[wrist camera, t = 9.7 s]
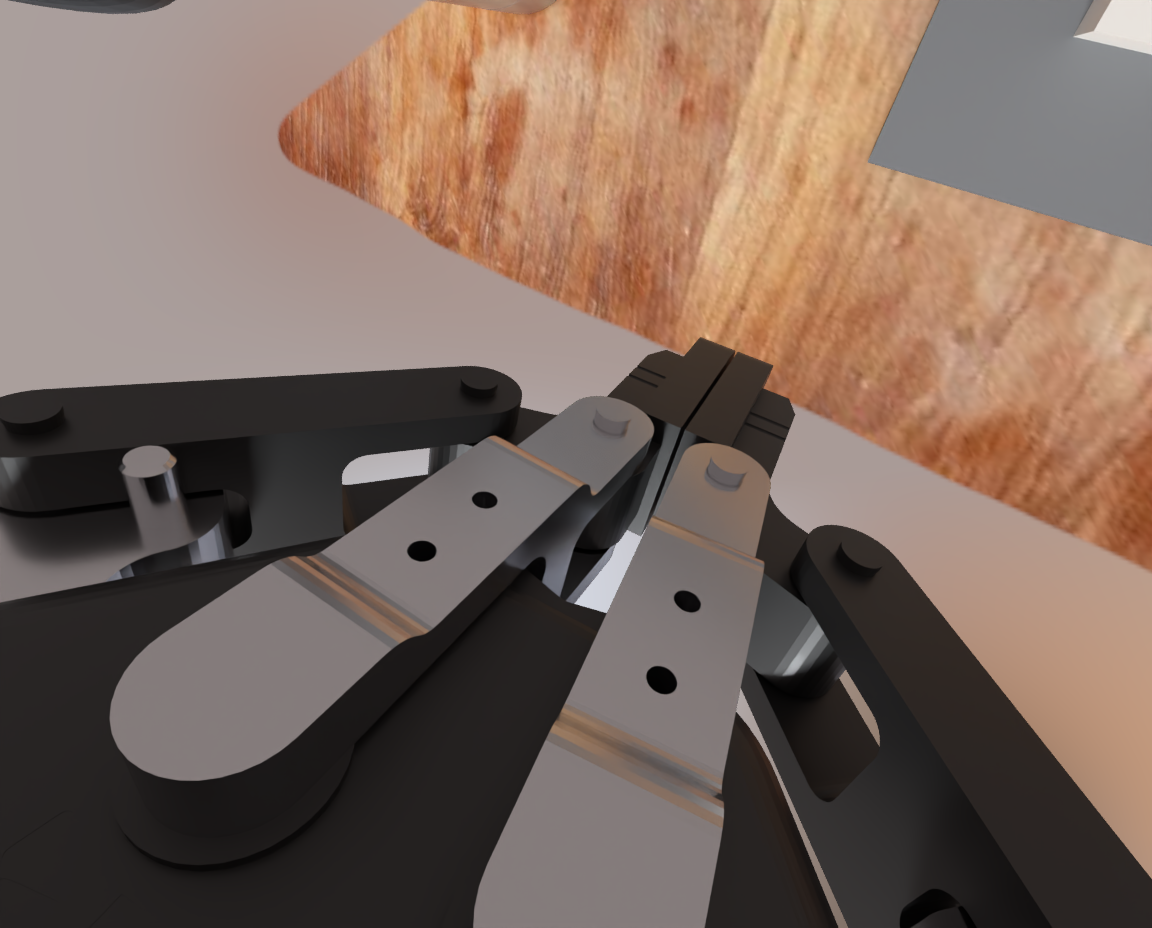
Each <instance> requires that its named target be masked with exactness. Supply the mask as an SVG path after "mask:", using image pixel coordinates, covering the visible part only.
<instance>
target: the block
mask: <svg viewBox="0 0 1152 928" xmlns="http://www.w3.org/2000/svg"><path fill="white" fill-rule="evenodd" d="M1073 37H1077V38H1081V39H1085V40H1090V41H1094V42H1099V43H1103V44H1107V45H1112V46H1116V47H1121V48H1125V49H1129V50H1134V51H1138V52H1143V53H1147V54H1151V55H1152V0H1093V2H1092V4H1091V6H1090V8H1089V9H1088V11H1087V13H1086V15H1085V16H1084V18H1083V20H1082V22H1081V23H1080V25H1079V27H1078V29H1077V30H1076V32H1075V34H1074V36H1073Z"/></svg>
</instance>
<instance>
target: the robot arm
mask: <svg viewBox="0 0 1152 928" xmlns="http://www.w3.org/2000/svg"><path fill="white" fill-rule="evenodd" d="M10 1H16V2H21V3H27V4H32V5H38V6H45V7H52V8H59V9H66V10H74V11H83V12H95V13H107V14H120V13H121V14H124V13H125V14H128V13H140V12H147V11H152V10H157V9H159V8H162V7H164V6H167V5H169V4H170V3H172V2H173V1H175V0H10ZM429 1H436V2H442V3H449V4H455V5H462V6H468V7H475V8H481V9H486V10H493V11H499V12H506V13H513V14H531V13H534V12H538V11H541V10H543V9H545V8H546V7H548V6H549V5H551V4H552V3H554V2H555V1H556V0H429ZM734 355H735V350H732V349H730V348H727V347H724V346H722V345H719V344H717V343H714V342H712V341H709V340H706V339H704V338H699V339H698V341H697V342H696V343H695V344H694V345H693V346H692V348H691V349H690V350H689V351H688V352H687V353H686V355H685V356H684V357H683V356H680V355H678V354H675V353H673V352H670V351H668V350H664V351H661V352H657V353H654V354H650V355H648V356H647V357H646V358H645V359H644V360H643V361H642V362H641V363H640V364H639V365H638V367H637V368H635V369H634V370H633V371H632V372H631V373H630V374H629V376H627V377H626V378H625V379H624V380H623V381H622V382H621V383H620V384H619V385H618V386H617V387H616V388H615V389H614V390H613V391H612V392H611V393H610V394H609V395H608V396H607V397H604V396H593V397H586V398H582V399H580V400H578V401H576V402H575V403H573V404H572V405H571V406H569V407H568V408H567V409H565V410H564V411H563V412H561V413H560V414H559V415H553V414H548V413H543V412H538V411H534V410H530V409H526V408H521V407H520V405H521V399H522V391H521V389H520V387H519V385H518V384H517V383H516V382H515V381H514V380H513V379H511V378H510V377H508V376H507V375H505V374H503V373H501V372H498V371H495V370H492V369H488V368H484V367H477V366H462V367H461V366H459V367H442V368H424V369H405V370H389V371H388V370H387V371H368V372H350V373H332V374H316V375H315V374H314V375H296V376H278V377H261V378H260V377H259V378H242V379H223V380H205V381H187V382H169V383H151V384H132V385H114V386H96V387H78V388H61V389H43V390H31V391H25V392H19V393H14V394H10V395H6V396H3V397H0V928H838V925H837V923H836V921H835V918H834V916H833V913H832V911H831V908H830V906H829V903H828V901H827V899H826V896H825V894H824V891H823V889H822V886H821V884H820V881H819V879H818V877H817V874H816V872H815V870H814V867H813V865H812V862H811V860H810V857H809V855H808V852H807V850H806V847H805V845H804V842H803V840H802V837H801V835H800V833H799V830H798V828H797V825H796V823H795V820H794V818H793V815H792V813H791V811H790V808H789V806H788V803H787V801H786V799H785V796H784V793H783V791H782V789H781V786H780V784H779V781H778V779H777V776H776V774H775V772H774V770H773V767H772V765H771V763H770V761H769V759H768V757H767V756H766V754H765V752H764V751H763V748H762V747H761V745H760V743H759V742H758V740H757V739H756V737H755V736H754V734H753V733H752V731H751V730H750V728H749V727H748V726H747V724H746V723H745V722H744V721H743V719H742V718H741V717H740V716H739V715H738V713H737V712H736V708H737V703H738V698H739V693H740V688H741V689H742V691H743V693H744V696H745V698H746V700H747V703H748V705H749V707H750V709H751V711H752V713H753V716H754V718H755V720H756V723H757V725H758V727H759V729H760V732H761V734H762V736H763V738H764V740H765V743H766V745H767V747H768V749H769V752H770V754H771V756H772V758H773V761H774V763H775V765H776V767H777V769H778V772H779V774H780V776H781V778H782V781H783V783H784V785H785V787H786V790H787V792H788V794H789V796H790V798H791V801H792V803H793V805H794V807H795V810H796V812H797V814H798V816H799V819H800V821H801V823H802V825H803V828H804V830H805V832H806V834H807V836H808V839H809V841H810V843H811V845H812V848H813V850H814V852H815V854H816V856H817V859H818V861H819V863H820V865H821V868H822V870H823V872H824V874H825V877H826V879H827V881H828V883H829V885H830V887H831V890H832V892H833V894H834V897H835V899H836V901H837V903H838V906H839V908H840V910H841V912H842V914H843V917H844V919H845V921H846V923H847V926H848V928H1152V879H1151V878H1150V876H1149V875H1148V874H1147V873H1146V871H1145V870H1144V869H1143V868H1142V866H1141V865H1140V864H1139V863H1138V861H1137V860H1136V859H1135V858H1134V856H1133V855H1132V854H1131V853H1130V851H1129V850H1128V849H1127V847H1126V846H1125V845H1124V844H1123V842H1122V841H1121V840H1120V839H1119V837H1118V836H1117V835H1116V834H1115V832H1114V831H1113V830H1112V829H1111V827H1110V826H1109V825H1108V824H1107V823H1106V821H1105V820H1104V819H1103V817H1102V816H1101V815H1100V813H1099V812H1098V811H1097V810H1096V808H1095V807H1094V806H1093V805H1092V803H1091V802H1090V801H1089V800H1088V798H1087V797H1086V796H1085V795H1084V793H1083V792H1082V791H1081V790H1080V788H1079V787H1078V786H1077V784H1076V783H1075V782H1074V781H1073V780H1072V778H1071V777H1070V776H1069V774H1068V773H1067V772H1066V771H1065V769H1064V768H1063V767H1062V766H1061V764H1060V763H1059V762H1058V761H1057V759H1056V758H1055V757H1054V756H1053V754H1052V753H1051V752H1050V751H1049V749H1048V748H1047V747H1046V746H1045V744H1044V743H1043V742H1042V741H1041V739H1040V738H1039V737H1038V735H1037V734H1036V733H1035V732H1034V730H1033V729H1032V728H1031V727H1030V725H1029V724H1028V723H1027V722H1026V720H1025V719H1024V718H1023V717H1022V715H1021V714H1020V713H1019V712H1018V710H1017V709H1016V708H1015V707H1014V705H1013V704H1012V703H1011V701H1010V700H1009V699H1008V698H1007V697H1006V695H1005V694H1004V693H1003V691H1002V690H1001V689H1000V688H999V686H998V685H997V684H996V683H995V681H994V680H993V679H992V677H991V676H990V675H989V674H988V672H987V671H986V670H985V669H984V668H983V666H982V665H981V664H980V662H979V661H978V660H977V659H976V657H975V656H974V655H973V654H972V652H971V651H970V650H969V648H968V647H967V646H966V645H965V644H964V642H963V641H962V640H961V639H960V637H959V636H958V635H957V634H956V632H955V631H954V630H953V628H952V627H951V626H950V625H949V623H948V622H947V621H946V620H945V618H944V617H943V616H942V614H941V613H940V612H939V611H938V609H937V608H936V607H935V606H934V605H933V603H932V602H931V601H930V599H929V598H928V597H927V596H926V594H925V593H924V592H923V591H922V589H921V588H920V587H919V586H918V584H917V583H916V582H915V581H914V579H913V578H912V577H911V575H910V574H909V573H908V572H907V570H906V569H905V568H904V567H903V565H902V564H901V563H900V562H899V560H898V559H897V558H896V557H895V556H894V555H893V554H892V553H891V552H890V551H889V550H888V549H887V548H886V547H884V546H883V545H882V544H880V543H879V542H878V541H876V540H874V539H873V538H871V537H869V536H868V535H866V534H864V533H862V532H859V531H857V530H854V529H851V528H848V527H843V526H837V525H824V526H820V527H817V528H815V529H813V530H812V531H811V532H810V533H809V534H808V533H806V532H805V531H804V530H802V529H801V528H799V527H798V526H796V525H795V524H794V523H792V522H791V521H790V520H789V519H787V518H786V517H785V516H784V515H783V514H782V513H781V512H780V510H779V509H778V508H777V507H776V505H775V504H774V502H773V500H772V498H771V497H770V494H769V493H770V488H771V482H770V479H771V476H772V474H773V471H774V468H775V466H776V463H777V461H778V458H779V455H780V453H781V450H782V448H783V445H784V442H785V440H786V437H787V435H788V432H789V429H790V427H791V424H792V421H793V419H794V416H795V413H794V411H793V408H792V405H791V403H790V400H789V399H788V398H786V397H783V396H781V395H778V394H776V393H773V392H771V391H768V390H766V389H763V388H764V386H765V384H766V382H767V379H768V377H769V375H770V373H771V370H772V368H773V365H771V364H768V363H766V362H763V361H761V360H758V359H756V358H753V357H750V356H748V355H745V354H743V353H740V352H737V354H736V355H735V357H734ZM424 448H430V455H429V468H428V475H421V476H413V477H405V478H398V479H390V480H383V481H375V482H368V483H361V484H353V485H342V473H343V470H344V469H345V467H346V466H347V465H348V464H349V463H350V462H351V461H353V460H354V459H356V458H358V457H361V456H365V455H371V454H380V453H389V452H398V451H406V450H416V449H424ZM647 525H648V526H647ZM646 527H647V528H646ZM645 529H646V530H645ZM626 530H629V531H631V532H633V533H635V534H637V535H639V536H641V535H642V534H643V532H644V530H645V533H644V535H643V537H642V539H641V541H640V543H639V545H638V547H637V550H636V552H635V554H634V556H633V558H632V560H631V563H630V565H629V567H628V569H627V571H626V573H625V575H624V578H623V580H622V582H621V584H620V586H619V588H618V590H617V593H616V595H615V597H614V599H613V601H612V604H611V606H610V608H609V610H608V612H607V613H604V612H600V611H597V610H594V609H590V608H587V607H583V606H580V605H576V604H574V603H575V602H576V601H577V599H578V598H579V597H580V596H581V595H582V593H583V592H584V591H585V590H586V588H587V587H588V586H589V585H590V583H591V582H592V581H593V580H594V579H595V577H596V576H597V575H598V574H599V572H600V571H601V570H602V569H603V567H604V566H605V565H606V564H607V562H608V561H609V560H610V558H611V556H612V554H613V551H614V548H615V545H616V543H618V542H619V541H620V539H621V538H622V536H623V535H624V533H625V532H626ZM845 670H847V672H848V674H849V675H850V677H851V679H852V680H853V682H854V684H855V685H856V687H857V688H858V690H859V692H860V693H861V695H862V697H863V698H864V700H865V702H866V703H867V705H868V707H869V708H870V710H871V712H872V714H873V716H874V717H875V720H876V722H877V725H878V729H879V734H880V747H879V745H878V744H877V742H876V740H875V739H874V737H873V735H872V734H871V732H870V730H869V728H868V727H867V725H866V724H865V722H864V720H863V718H862V717H861V715H860V713H859V711H858V710H857V708H856V706H855V705H854V703H853V701H852V700H851V698H850V696H849V694H848V693H847V691H846V689H845V688H844V686H843V684H842V683H841V681H840V679H839V677H840V676H841V675H842V673H843V672H844V671H845Z"/></svg>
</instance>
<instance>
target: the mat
mask: <svg viewBox="0 0 1152 928" xmlns="http://www.w3.org/2000/svg"><path fill="white" fill-rule="evenodd" d="M1092 2H1093V0H940V1H939V3H938V6H937V8H936V10H935V12H934V15H933V17H932V19H931V21H930V24H929V26H928V28H927V30H926V33H925V35H924V37H923V39H922V42H921V44H920V46H919V48H918V50H917V53H916V55H915V57H914V59H913V62H912V64H911V66H910V68H909V71H908V73H907V75H906V77H905V80H904V82H903V84H902V86H901V89H900V91H899V93H898V95H897V97H896V100H895V102H894V104H893V106H892V109H891V111H890V113H889V115H888V118H887V120H886V122H885V124H884V127H883V129H882V131H881V133H880V136H879V138H878V140H877V142H876V144H875V147H874V149H873V151H872V153H871V156H870V158H869V160H868V163H872V164H875V165H879V166H882V167H885V168H889V169H892V170H896V171H899V172H902V173H906V174H909V175H913V176H916V177H919V178H923V179H926V180H930V181H933V182H936V183H940V184H943V185H946V186H950V187H953V188H957V189H960V190H963V191H967V192H970V193H974V194H977V195H980V196H984V197H987V198H991V199H994V200H997V201H1001V202H1004V203H1008V204H1011V205H1014V206H1018V207H1021V208H1024V209H1028V210H1031V211H1035V212H1038V213H1041V214H1045V215H1048V216H1052V217H1055V218H1058V219H1062V220H1065V221H1069V222H1072V223H1075V224H1079V225H1082V226H1086V227H1089V228H1092V229H1096V230H1099V231H1102V232H1106V233H1109V234H1113V235H1116V236H1119V237H1123V238H1126V239H1130V240H1133V241H1136V242H1140V243H1143V244H1147V245H1150V246H1152V55H1151V54H1147V53H1143V52H1138V51H1134V50H1129V49H1125V48H1121V47H1116V46H1112V45H1107V44H1103V43H1099V42H1094V41H1090V40H1085V39H1081V38H1077V37H1073V36H1074V34H1075V32H1076V30H1077V29H1078V27H1079V25H1080V23H1081V22H1082V20H1083V18H1084V16H1085V15H1086V13H1087V11H1088V9H1089V8H1090V6H1091V4H1092Z"/></svg>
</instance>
